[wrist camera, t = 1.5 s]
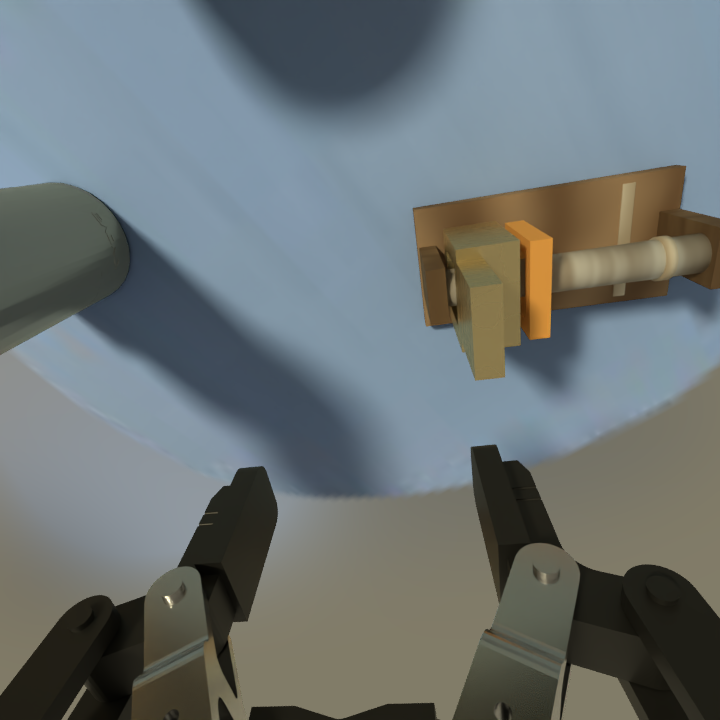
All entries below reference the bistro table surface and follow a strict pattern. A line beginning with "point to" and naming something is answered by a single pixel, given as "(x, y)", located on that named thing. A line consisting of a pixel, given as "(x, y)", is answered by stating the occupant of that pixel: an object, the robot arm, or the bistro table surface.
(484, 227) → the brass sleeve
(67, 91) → the bistro table surface
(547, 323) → the orange upright board
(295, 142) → the bistro table surface
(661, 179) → the pipe board
